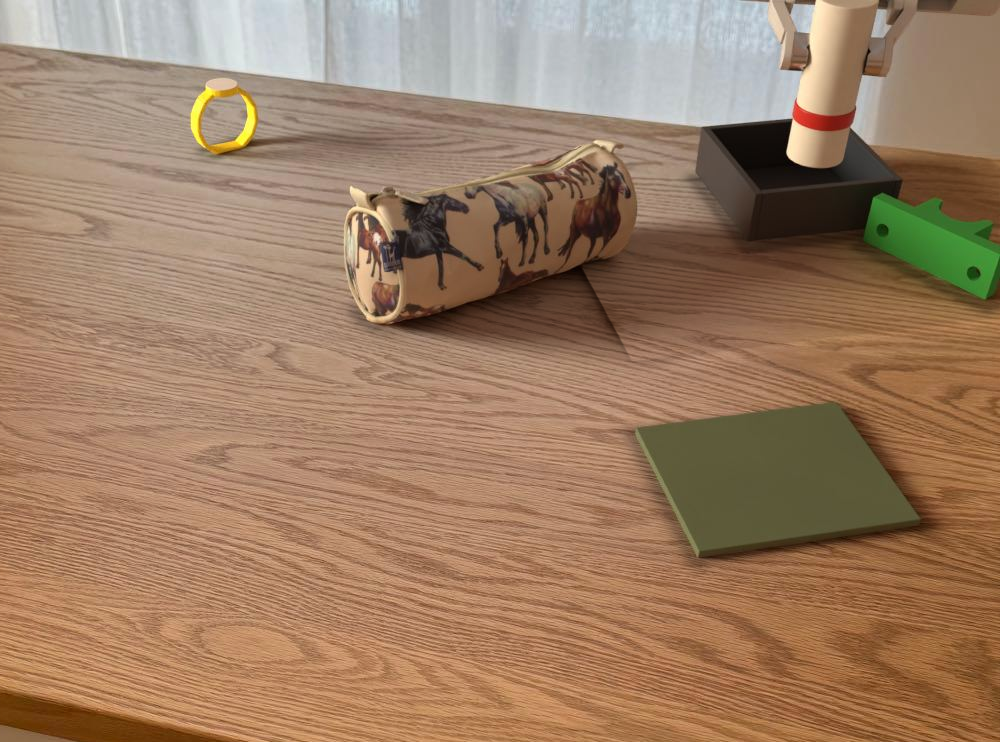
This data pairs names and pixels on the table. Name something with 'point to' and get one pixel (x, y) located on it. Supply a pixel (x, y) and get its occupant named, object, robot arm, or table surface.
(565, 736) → the table surface
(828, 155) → the red-banded cream cylinder
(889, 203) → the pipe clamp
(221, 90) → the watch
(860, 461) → the mat
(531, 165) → the pencil case
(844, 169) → the bin
